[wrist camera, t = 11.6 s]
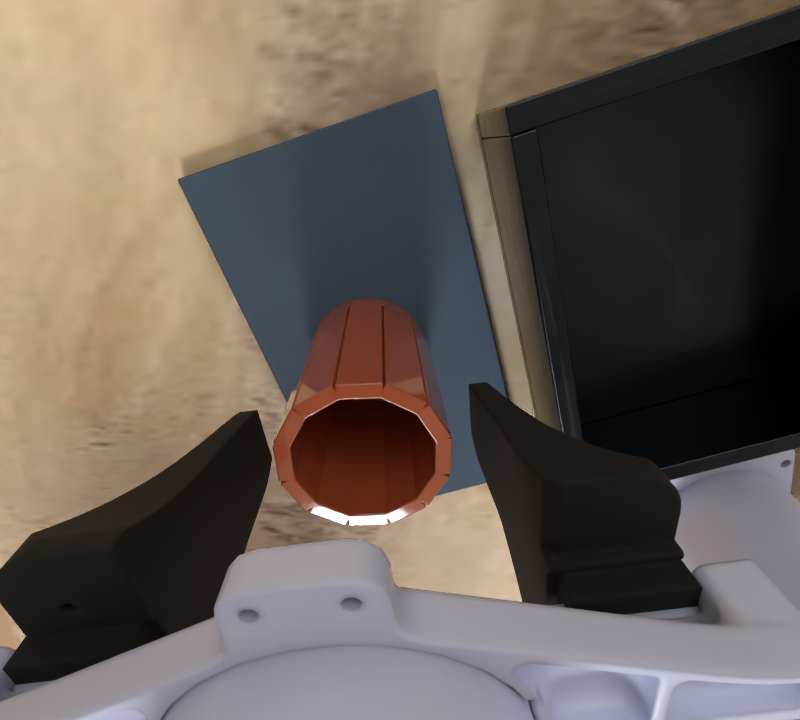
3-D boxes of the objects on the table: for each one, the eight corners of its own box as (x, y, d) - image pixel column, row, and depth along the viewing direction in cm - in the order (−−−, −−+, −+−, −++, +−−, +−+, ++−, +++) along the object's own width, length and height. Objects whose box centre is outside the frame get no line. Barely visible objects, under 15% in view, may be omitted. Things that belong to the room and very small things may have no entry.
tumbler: (447, 369, 20) (481, 481, 14) (353, 421, 21) (341, 548, 15) (388, 275, 18) (393, 350, 11) (286, 336, 19) (236, 439, 12)
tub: (811, 369, 22) (910, 420, 18) (540, 442, 23) (574, 505, 19) (859, -16, 15) (1035, -75, 11) (474, 115, 16) (505, 105, 12)
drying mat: (521, 465, 24) (524, 473, 23) (345, 511, 25) (344, 520, 24) (434, 90, 16) (436, 88, 15) (182, 178, 17) (176, 179, 16)
